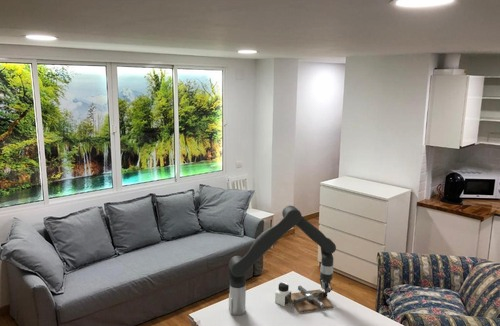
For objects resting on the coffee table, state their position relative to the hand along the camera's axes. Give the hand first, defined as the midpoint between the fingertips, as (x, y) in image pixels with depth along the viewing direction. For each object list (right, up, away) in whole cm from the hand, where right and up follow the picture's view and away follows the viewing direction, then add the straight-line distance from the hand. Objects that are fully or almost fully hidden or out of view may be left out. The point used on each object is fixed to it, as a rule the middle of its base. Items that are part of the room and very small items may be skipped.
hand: (325, 296), depth 236 cm
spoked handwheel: (-9, -1, -1) cm, 9 cm away
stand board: (-9, -3, -1) cm, 10 cm away
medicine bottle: (-26, -3, -1) cm, 26 cm away
